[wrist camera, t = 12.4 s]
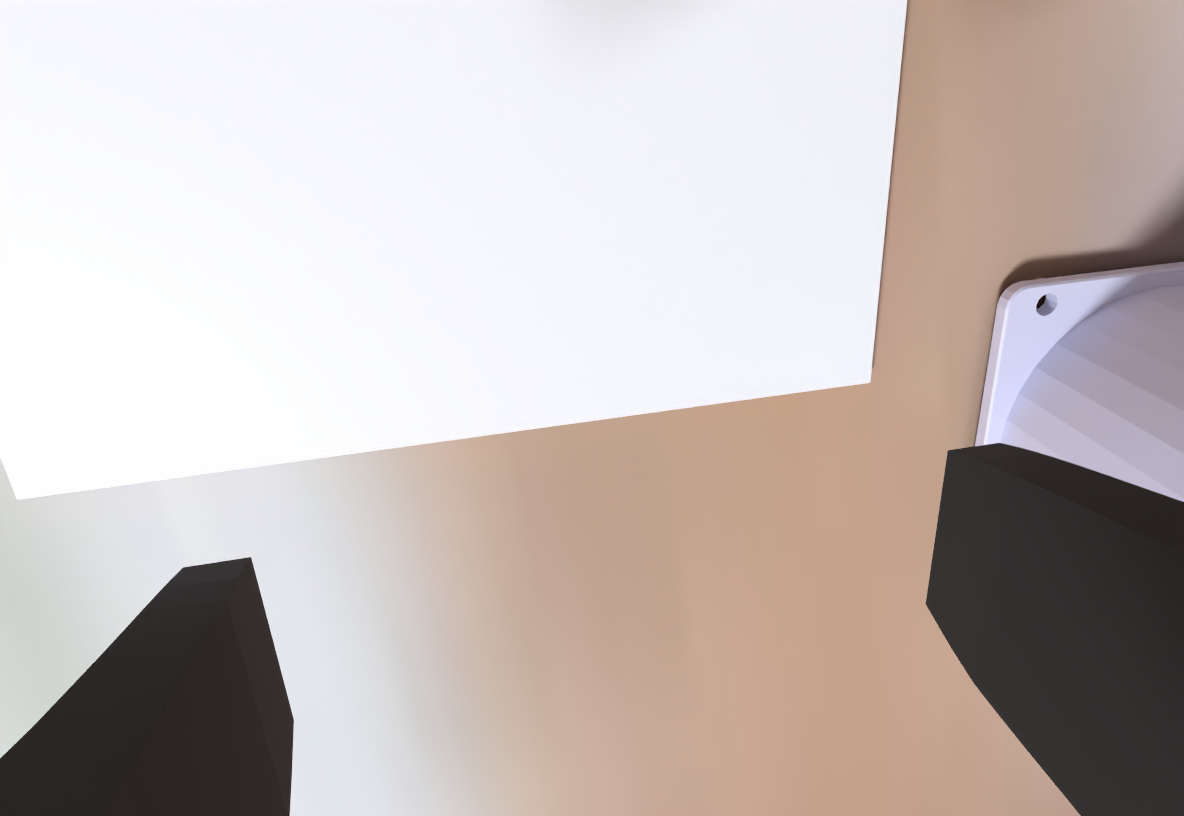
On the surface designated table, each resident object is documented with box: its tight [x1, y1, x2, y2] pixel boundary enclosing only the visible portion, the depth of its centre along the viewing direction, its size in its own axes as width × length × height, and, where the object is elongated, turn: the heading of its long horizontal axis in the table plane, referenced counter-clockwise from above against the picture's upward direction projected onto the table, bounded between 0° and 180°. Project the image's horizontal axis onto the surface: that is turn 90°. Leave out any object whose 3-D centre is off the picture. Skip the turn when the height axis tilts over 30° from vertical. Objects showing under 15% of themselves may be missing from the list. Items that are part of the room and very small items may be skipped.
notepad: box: [0, 0, 907, 500], centre depth 16 cm, size 18×12×1 cm, turn 93°
